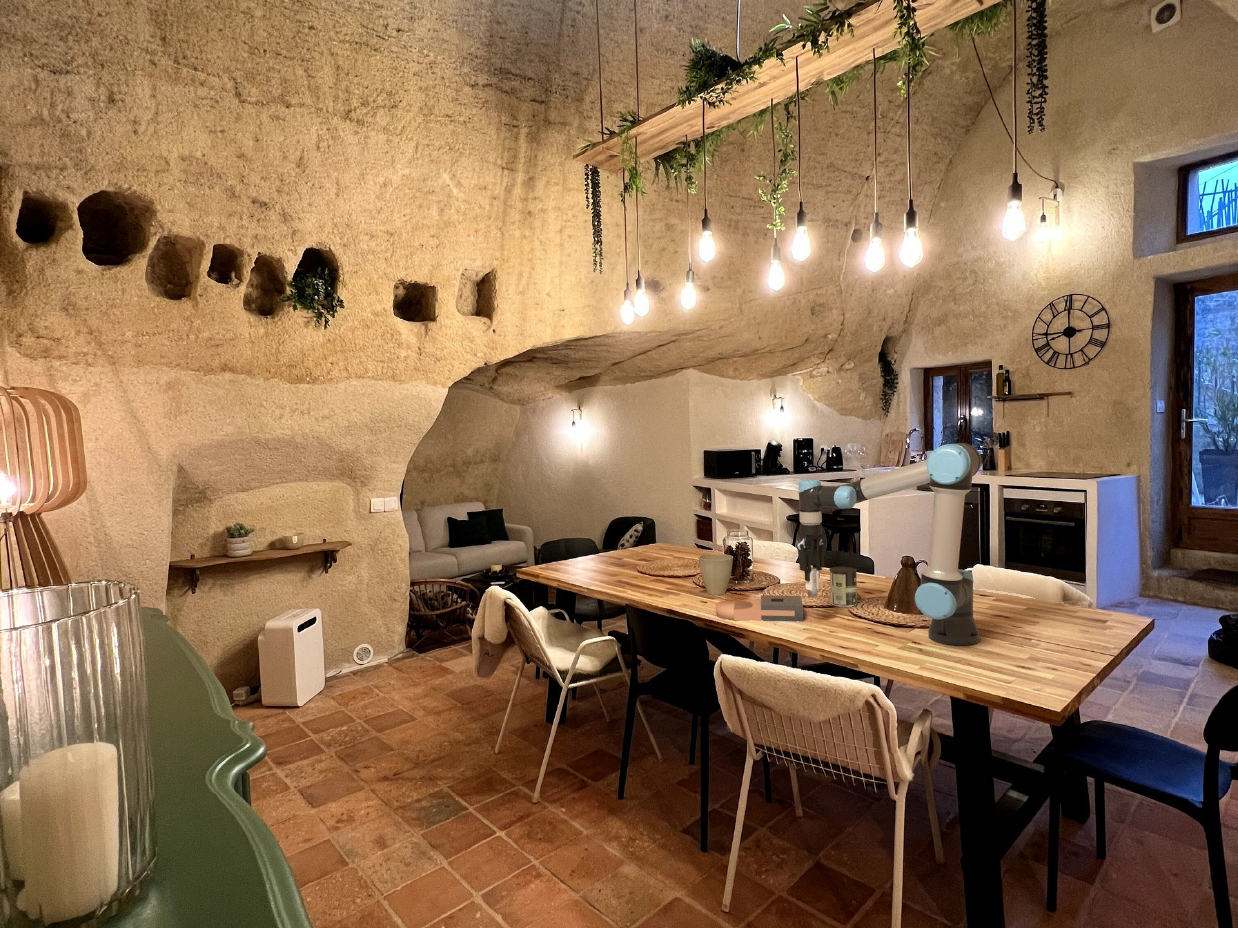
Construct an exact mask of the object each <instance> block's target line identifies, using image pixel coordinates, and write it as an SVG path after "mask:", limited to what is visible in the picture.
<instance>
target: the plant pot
mask: <svg viewBox="0 0 1238 928" xmlns="http://www.w3.org/2000/svg"><path fill="white" fill-rule="evenodd" d="M733 563H734V556H732V555H730V554H725V553H708V554H707V553H706V554H701V555H699V556H698V564H699V568H700V573H701V577H702V581H703V584H704V587H705V589H706V592H707V594H708V595H711V596H722V595H725V594H726V591H727V589H728V584H729V582H730V579H731V573H732V569H733Z"/></svg>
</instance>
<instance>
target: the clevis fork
mask: <svg viewBox="0 0 1238 928" xmlns="http://www.w3.org/2000/svg"><path fill="white" fill-rule="evenodd" d="M760 600H761V610H784V611H795V616H766V615H761V620H763V621H765V622H797V621H799V622H800V623H801V622H802V623H803V622H804V606H803V599H802V595H765V594H764V595H760ZM763 621H762V622H763Z"/></svg>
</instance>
